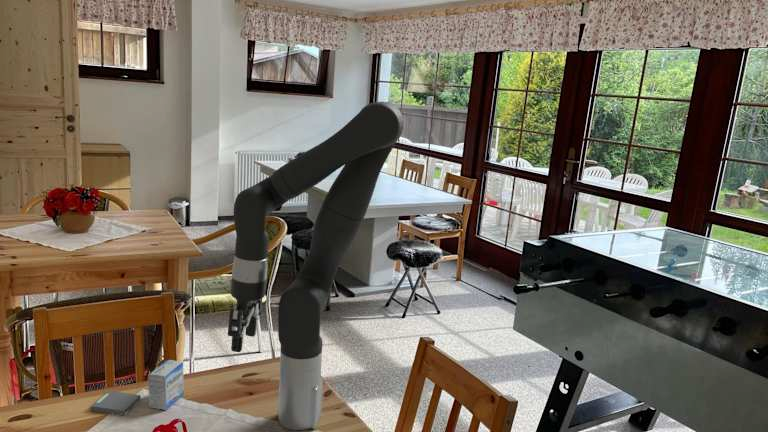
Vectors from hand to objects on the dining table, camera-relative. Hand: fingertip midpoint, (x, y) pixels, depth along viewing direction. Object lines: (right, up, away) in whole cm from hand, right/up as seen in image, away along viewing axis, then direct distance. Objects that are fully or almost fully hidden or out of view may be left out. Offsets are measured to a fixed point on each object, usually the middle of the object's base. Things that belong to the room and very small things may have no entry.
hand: (243, 343), depth 134 cm
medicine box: (-20, -15, +6) cm, 26 cm away
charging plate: (-30, -15, +3) cm, 34 cm away
